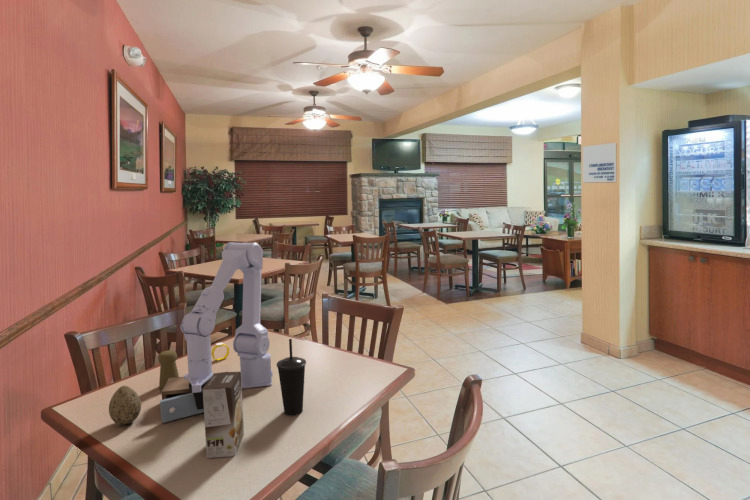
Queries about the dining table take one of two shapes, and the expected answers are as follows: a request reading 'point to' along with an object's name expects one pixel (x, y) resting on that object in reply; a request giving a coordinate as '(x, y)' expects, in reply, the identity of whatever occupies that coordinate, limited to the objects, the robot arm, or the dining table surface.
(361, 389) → the dining table surface
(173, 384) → the cabinet
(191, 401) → the cabinet door
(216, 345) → the watch
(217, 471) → the dining table surface
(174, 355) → the cork
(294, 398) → the drinking cup
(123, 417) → the decorative egg
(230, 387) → the coffee box
